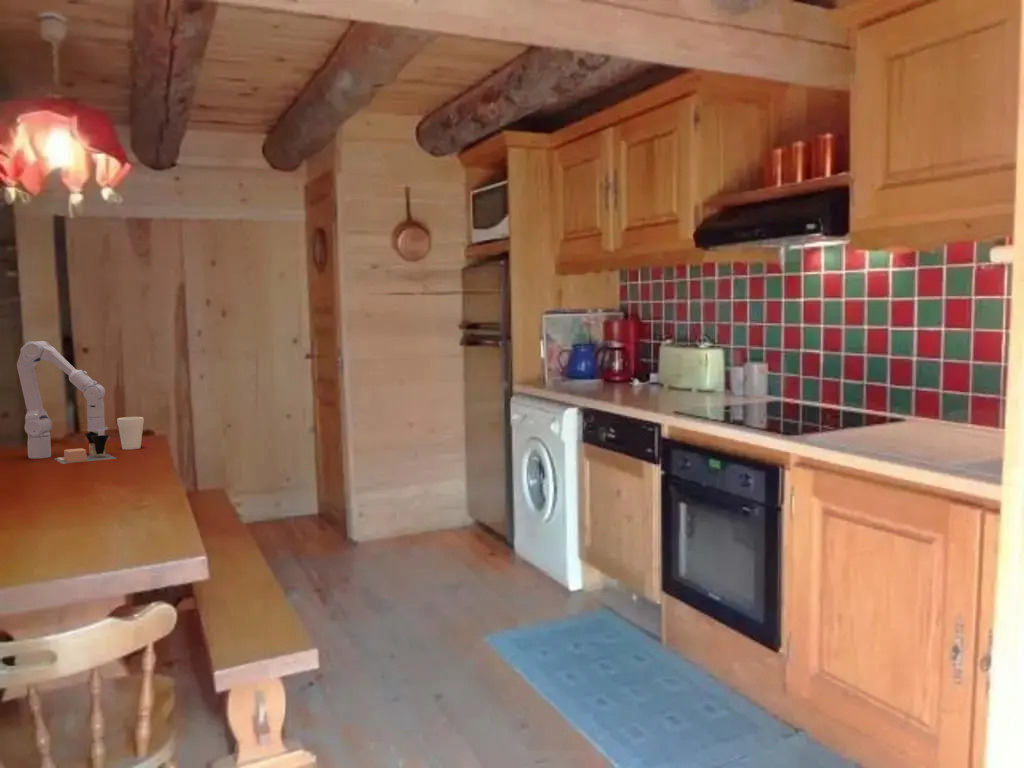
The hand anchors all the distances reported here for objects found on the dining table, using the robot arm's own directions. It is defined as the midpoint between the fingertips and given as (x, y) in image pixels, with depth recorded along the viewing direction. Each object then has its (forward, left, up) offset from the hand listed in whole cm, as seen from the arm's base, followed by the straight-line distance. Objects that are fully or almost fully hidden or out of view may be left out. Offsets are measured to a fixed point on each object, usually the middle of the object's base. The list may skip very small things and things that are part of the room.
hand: (97, 452), depth 300 cm
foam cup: (-11, +15, -2) cm, 18 cm away
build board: (+4, -5, -2) cm, 7 cm away
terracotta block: (+7, -9, -1) cm, 12 cm away
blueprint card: (0, -10, -1) cm, 10 cm away
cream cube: (0, 0, -1) cm, 1 cm away
